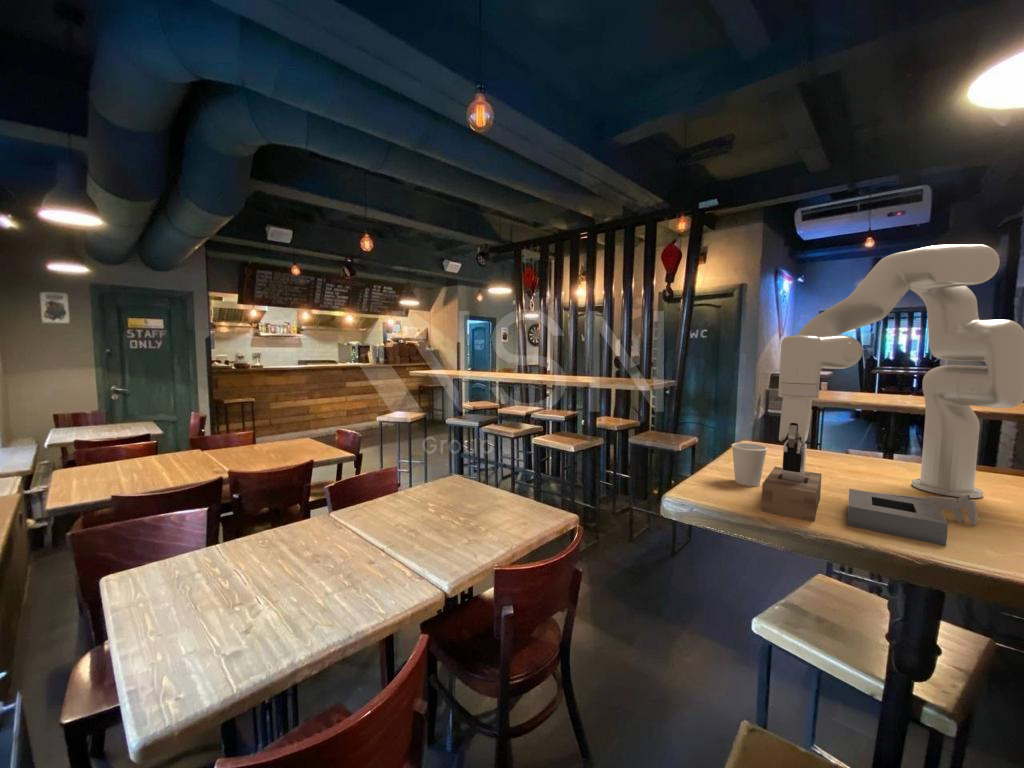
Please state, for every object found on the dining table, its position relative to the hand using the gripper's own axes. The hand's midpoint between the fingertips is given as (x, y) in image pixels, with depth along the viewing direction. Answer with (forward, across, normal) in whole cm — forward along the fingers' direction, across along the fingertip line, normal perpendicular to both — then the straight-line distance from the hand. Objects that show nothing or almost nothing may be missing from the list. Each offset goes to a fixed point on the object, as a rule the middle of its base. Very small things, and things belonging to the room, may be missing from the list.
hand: (793, 466), depth 96 cm
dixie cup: (+9, -11, -11) cm, 18 cm away
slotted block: (+9, 0, 0) cm, 9 cm away
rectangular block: (+9, 0, 0) cm, 9 cm away
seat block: (+9, 0, +17) cm, 19 cm away
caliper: (+9, -14, +21) cm, 27 cm away
